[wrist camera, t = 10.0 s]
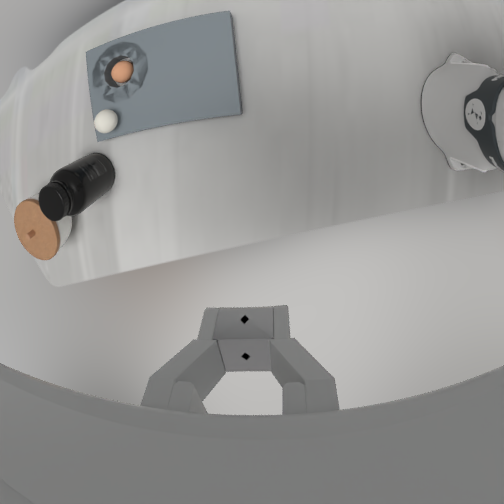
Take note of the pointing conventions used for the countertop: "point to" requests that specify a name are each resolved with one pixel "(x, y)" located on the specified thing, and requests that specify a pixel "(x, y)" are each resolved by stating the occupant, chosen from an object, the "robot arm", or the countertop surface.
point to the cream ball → (105, 121)
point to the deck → (168, 74)
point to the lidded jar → (40, 229)
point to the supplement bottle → (76, 187)
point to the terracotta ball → (122, 71)
